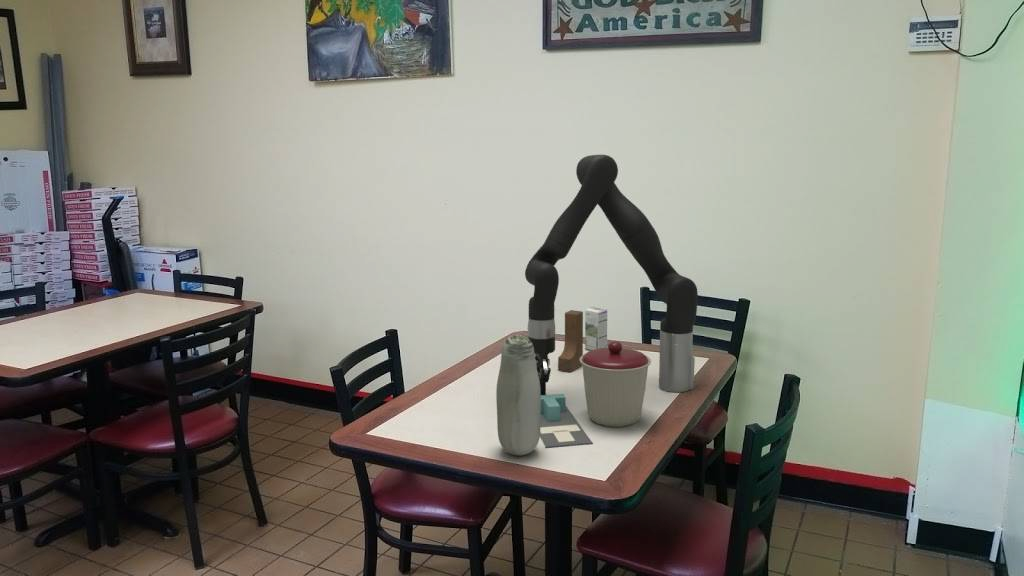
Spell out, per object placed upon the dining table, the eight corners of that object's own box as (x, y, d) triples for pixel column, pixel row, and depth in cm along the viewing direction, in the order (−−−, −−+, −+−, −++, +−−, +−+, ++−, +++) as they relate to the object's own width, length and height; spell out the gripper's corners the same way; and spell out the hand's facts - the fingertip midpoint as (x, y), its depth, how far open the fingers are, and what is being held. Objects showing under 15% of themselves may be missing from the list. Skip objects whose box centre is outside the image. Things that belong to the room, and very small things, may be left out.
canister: (663, 419, 194) (665, 341, 190) (621, 439, 181) (622, 356, 177) (607, 403, 206) (608, 329, 202) (565, 421, 194) (564, 342, 190)
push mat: (564, 404, 206) (564, 403, 206) (592, 444, 179) (592, 442, 179) (523, 407, 204) (523, 406, 204) (545, 448, 177) (545, 446, 177)
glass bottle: (543, 460, 170) (542, 341, 165) (498, 462, 169) (496, 343, 164) (538, 443, 180) (537, 330, 174) (496, 444, 179) (493, 331, 174)
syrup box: (607, 349, 259) (608, 308, 256) (597, 352, 255) (597, 311, 252) (594, 346, 263) (595, 306, 260) (584, 349, 259) (584, 309, 256)
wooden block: (570, 373, 233) (570, 317, 230) (557, 370, 236) (557, 315, 232) (583, 365, 241) (583, 311, 237) (570, 363, 243) (570, 309, 240)
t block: (562, 407, 202) (562, 393, 201) (571, 419, 193) (571, 405, 193) (530, 410, 201) (530, 396, 200) (537, 422, 192) (537, 407, 191)
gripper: (560, 339, 197) (560, 402, 200) (549, 327, 210) (549, 386, 213) (532, 341, 196) (532, 403, 199) (523, 328, 209) (523, 388, 212)
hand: (541, 394), depth 206 cm, fingers closed
